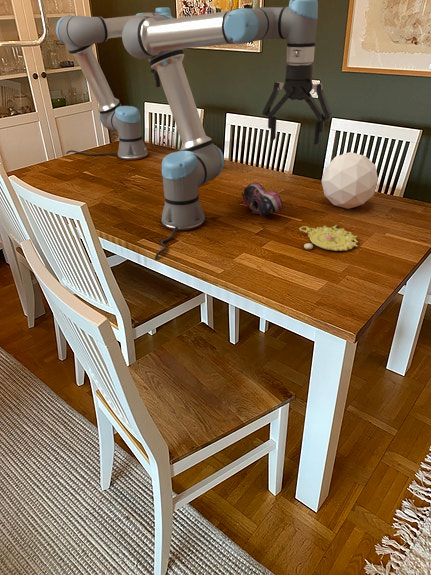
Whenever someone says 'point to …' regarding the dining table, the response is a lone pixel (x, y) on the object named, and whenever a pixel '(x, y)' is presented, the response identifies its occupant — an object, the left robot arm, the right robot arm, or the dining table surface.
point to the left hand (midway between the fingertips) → (169, 87)
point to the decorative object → (330, 238)
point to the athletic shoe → (261, 200)
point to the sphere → (349, 180)
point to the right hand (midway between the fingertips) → (294, 141)
